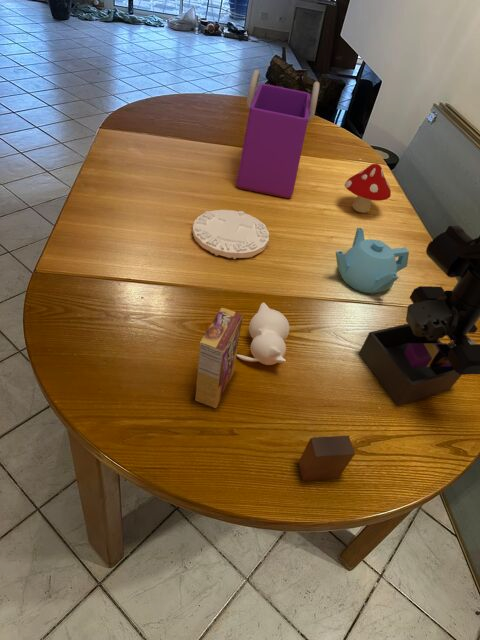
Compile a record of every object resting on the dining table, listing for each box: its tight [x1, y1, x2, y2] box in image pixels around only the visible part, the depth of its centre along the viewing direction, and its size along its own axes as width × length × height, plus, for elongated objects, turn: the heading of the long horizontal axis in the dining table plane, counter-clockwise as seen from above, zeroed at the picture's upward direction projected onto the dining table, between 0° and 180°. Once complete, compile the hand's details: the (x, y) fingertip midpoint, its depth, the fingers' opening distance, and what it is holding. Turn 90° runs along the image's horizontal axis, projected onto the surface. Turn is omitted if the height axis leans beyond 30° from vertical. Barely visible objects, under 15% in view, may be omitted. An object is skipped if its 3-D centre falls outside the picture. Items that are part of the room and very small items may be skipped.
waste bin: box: [358, 323, 462, 407], centre depth 82 cm, size 13×13×6 cm
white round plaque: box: [191, 209, 270, 260], centre depth 109 cm, size 20×20×3 cm
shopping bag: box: [236, 69, 321, 199], centre depth 128 cm, size 28×22×30 cm
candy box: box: [194, 307, 244, 409], centre depth 70 cm, size 9×4×15 cm, turn 160°
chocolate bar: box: [404, 342, 451, 367], centre depth 77 cm, size 8×4×2 cm, turn 98°
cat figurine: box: [236, 302, 291, 366], centre depth 81 cm, size 9×11×12 cm
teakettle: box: [335, 227, 410, 295], centre depth 101 cm, size 15×15×11 cm
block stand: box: [297, 435, 356, 482], centre depth 64 cm, size 6×3×8 cm, turn 98°
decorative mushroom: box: [344, 163, 392, 214], centre depth 125 cm, size 14×14×15 cm
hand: (427, 358), depth 78 cm, fingers closed on chocolate bar, 4 cm apart
